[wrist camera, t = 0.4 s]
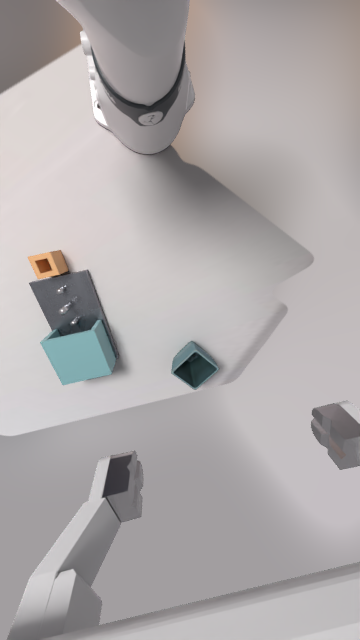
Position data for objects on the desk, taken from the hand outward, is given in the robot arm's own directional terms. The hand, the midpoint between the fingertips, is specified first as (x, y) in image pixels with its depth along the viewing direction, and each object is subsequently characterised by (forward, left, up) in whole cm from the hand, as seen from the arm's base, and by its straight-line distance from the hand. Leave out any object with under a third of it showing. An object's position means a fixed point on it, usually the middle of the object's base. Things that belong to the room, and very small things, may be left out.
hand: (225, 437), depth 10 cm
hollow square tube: (-7, -25, -46) cm, 52 cm away
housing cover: (+14, -25, -44) cm, 52 cm away
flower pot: (+24, +1, -46) cm, 52 cm away
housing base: (+8, -25, -46) cm, 53 cm away
